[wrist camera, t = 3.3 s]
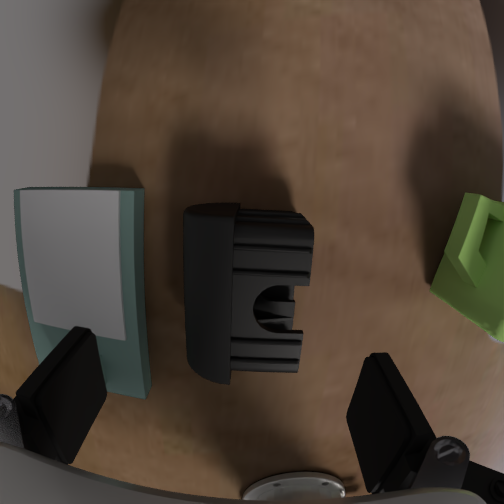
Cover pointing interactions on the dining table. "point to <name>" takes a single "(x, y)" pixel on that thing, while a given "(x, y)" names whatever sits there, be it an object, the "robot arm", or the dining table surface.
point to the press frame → (87, 275)
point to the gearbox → (475, 264)
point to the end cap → (243, 288)
